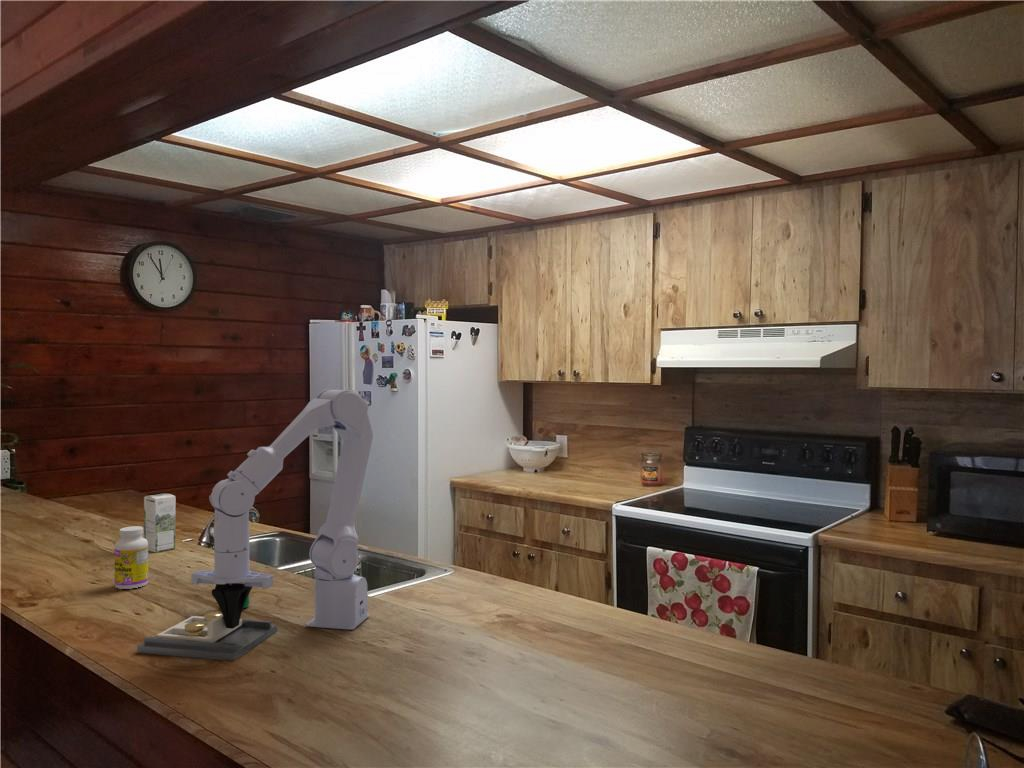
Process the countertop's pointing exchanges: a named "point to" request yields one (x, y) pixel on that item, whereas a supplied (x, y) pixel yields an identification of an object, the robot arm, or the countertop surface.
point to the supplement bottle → (131, 559)
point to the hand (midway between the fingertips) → (232, 626)
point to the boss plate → (218, 650)
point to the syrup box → (160, 522)
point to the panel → (211, 631)
